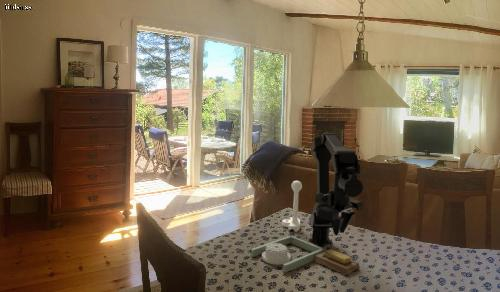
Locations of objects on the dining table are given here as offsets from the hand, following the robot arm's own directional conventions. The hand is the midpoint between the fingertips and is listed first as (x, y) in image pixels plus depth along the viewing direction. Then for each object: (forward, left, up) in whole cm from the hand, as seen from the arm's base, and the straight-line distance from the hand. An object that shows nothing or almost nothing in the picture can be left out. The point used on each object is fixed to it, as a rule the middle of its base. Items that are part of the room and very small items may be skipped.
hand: (338, 233), depth 132 cm
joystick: (-15, -34, -11) cm, 39 cm away
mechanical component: (+12, -16, -12) cm, 24 cm away
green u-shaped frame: (+8, -15, -11) cm, 20 cm away
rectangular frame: (0, 0, -11) cm, 11 cm away
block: (0, 0, -11) cm, 11 cm away
